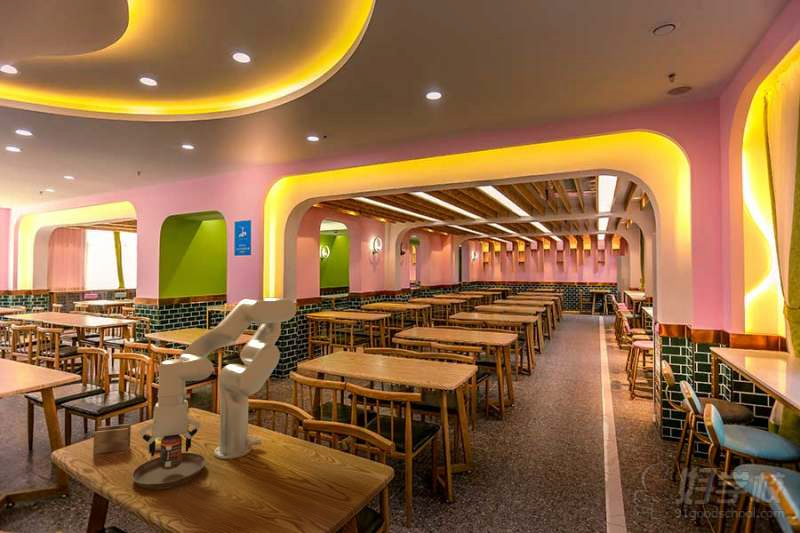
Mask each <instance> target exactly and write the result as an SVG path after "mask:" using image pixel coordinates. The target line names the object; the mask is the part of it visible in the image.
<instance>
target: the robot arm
mask: <svg viewBox="0 0 800 533" xmlns="http://www.w3.org/2000/svg"><path fill="white" fill-rule="evenodd" d="M296 313H297V305H296V303H295V302H294V301H293V300H292V299H291V298H290V299H289V298H285V297H284V298H283V297H277V296H275V297H273V296H272V297H266V298H264V299H261V300H260V299H254V298H253V299H252V298H245V299H242V300H240V301H239V302H238V303H237V304H236V305H235V306H234V307H233V308H232V309H231V310H230V311H229V313H228V314H227V315H226V316H225V317H224V318H223V319H222V320H221V321H220V322H219V323H218V324H217V325H216V326H215V327H214V328H211V329H210V330H209V331H207V332H205V333H204V334H202V335H201V336H200V337H197V339H195V340H194V341H193V342H191V343H190V344H189V345H188V346H187V347H186V348H185V350H184V351H183V352H181V354H180V355H179V356H178V358H176V359H175V358H174V359H173V358H172V359H167V360H163V361H162V362H160V363H159V365H158V390H157V391H158V394H157V403H155V406H154V412H153V418H152V422H150V423H148V424H147V425H145V426H144V427H141V428H140V429H139V434H140V436H141V437H142V439H143V440H145V442H147V444H149V445H148V453H149V454H150V457H152V458H153V457H155V455H156V451H155V442H156V441H155V439H156V438H157V437H164V436H171V435H180V436H181V435H184V436H185V438H186V439H185V453H189V448H191V447H192V437H194V436H195V435H196V434H197V433H198V431H199V429H200V427H201V425H202V422H201V421H198V420H196V419H193V418H190V410H189V403H188V400H186V399H190V398H191V397H190V396H191V394H190V393H187V392H186V382H191V381H195V382H197V381H198V382H199V381H202V380H205V379H207V378H209V377H210V376H211V375H212V374H213V371H214V364H213V362H212V361H211V360H210V359H209V358H207V356H209V355H210V353H212V352H214V351H216V350H218V349H220V348H223V347H227V346H229V345H232V344H234V343H236V342H237V341H238V340H239V338H240V337H241V336H242V335H243V334H244V333H245V332H246V330H247V329H248V328H249V327H250V326H251V325H252V324H257V325H259V326H258V328H257V330H256V331H255V332H254V334H253V335H252V336H251V337H250V339H249V340H248V341H247V342H246V344H245V345H244V346H243V347H242V349H241V351H240V359H241V361H242V362H243V364H245V365H242V364H239V363H230V364H226V365H225V366H224V367H223V368H222V369H221V370H220V371H219V374H218V377H217V384H218V391H219V400H220V403H219V436H218V437H219V440H218V441H219V442H218V443H219V444H218V446H217V447H216V448H214V456H215V457H216V458H218V459H220V460H221V459H222V460H234V459H238V458H242V457H244V456H246V455H248V454H250V453H251V451H252V450H251V449H253V448H252V446H254V445H255V446H257V445H261V442H262V441H261V438H257V436H256V437H249V434H248V432H249V426H248V425H249V397H250V396H253V395H255V394H256V393H257V392H259V390H261V388H262V387H263V386H264V384H265V383H266V382H267V380H268V378H269V377H270V376H271V374H272V373H273V371H274V370H275V369H276V368H277V366H278V364H279V361H280V357H281V353H280V352H281V351H280V350H279V348H278V346H277V345H276V342H277V341H278V339H279V338H280V336H281V332H282V331H281V329H282V326H281V323H283V322H287V321H290V320H291V319H293V318H294V317H295V315H296ZM246 365H247V366H246ZM190 425H192V426H194V428H193V429H192V430H190V429H189V428H190ZM149 430H152V431H151V432H152V433H151V434H152V435H149V434H148V433H147V431H149Z"/></svg>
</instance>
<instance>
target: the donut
mask: <svg viewBox="0 0 800 533" xmlns="http://www.w3.org/2000/svg"><path fill="white" fill-rule="evenodd" d="M164 437H165V436H164ZM164 437H157V438H156V439H155V441H156V442H155V452H161V440H162V439H163V438H164ZM147 444H148V443H147ZM148 446H149V444H148Z"/></svg>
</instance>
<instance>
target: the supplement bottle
mask: <svg viewBox="0 0 800 533" xmlns="http://www.w3.org/2000/svg"><path fill="white" fill-rule="evenodd" d="M182 441H183V438H182V436H181V434H180V435H171V436H165V437H164V438H163V439H162V440H161V451H160V456H159V457H160V467H161V468H162V469H166V470H168V469H173V468H176V467H178V466H179V465H180V464H181V453H182V449H183V448H182V444H183V442H182Z"/></svg>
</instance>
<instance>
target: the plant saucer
mask: <svg viewBox="0 0 800 533" xmlns="http://www.w3.org/2000/svg"><path fill="white" fill-rule="evenodd" d="M206 461H207V460H206V458H205V457H204V455H202V454H198V453H195V452H194V453H193V452H181V464H180V465H179V466H178V467H176V468H173V469H168V470H166V469H162V468H161V467H160V456H159V457H156V458H152V459H150V460H148V461H145V462H143V463H142V464H140V465H138V466H137V467H136V468H134V470H133V471H132V473H131V479H132V480H133V481H134V483H136V484H137V485H138V486H140V487H142V488H144V489H147V490H162V489H163V490H164V489H169V488H173V487H177V486H179V485H180V486H181V485H183V484H185V483H188V482H189V481H191V480H192V479H194V478H195V477H197V475H199V473H200V472H201V471H202V469H203V467H204V466H205V465H206Z"/></svg>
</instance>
